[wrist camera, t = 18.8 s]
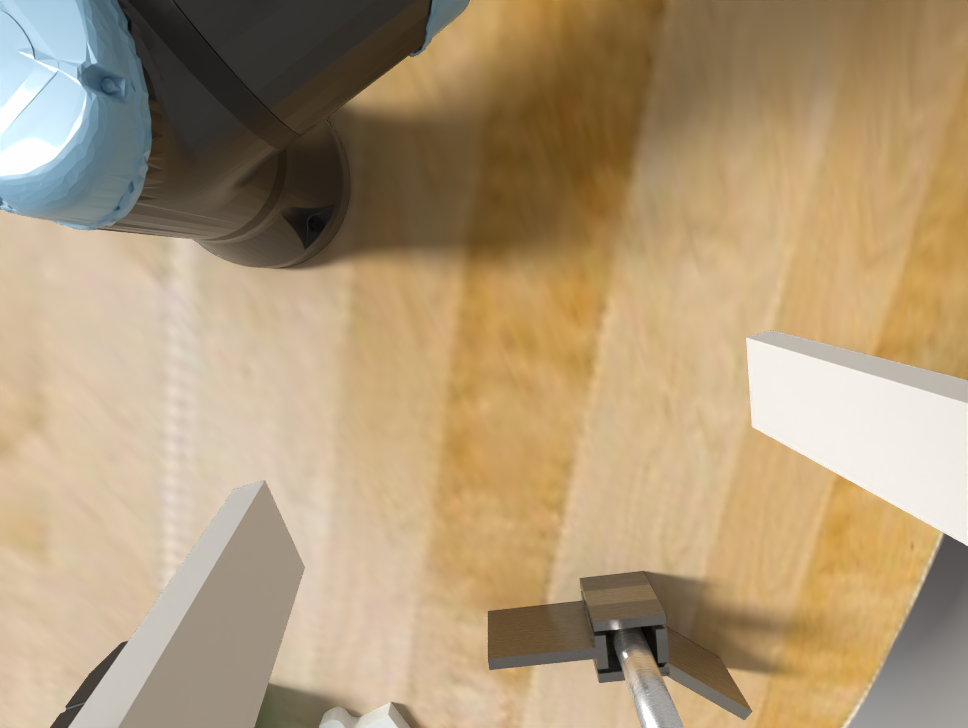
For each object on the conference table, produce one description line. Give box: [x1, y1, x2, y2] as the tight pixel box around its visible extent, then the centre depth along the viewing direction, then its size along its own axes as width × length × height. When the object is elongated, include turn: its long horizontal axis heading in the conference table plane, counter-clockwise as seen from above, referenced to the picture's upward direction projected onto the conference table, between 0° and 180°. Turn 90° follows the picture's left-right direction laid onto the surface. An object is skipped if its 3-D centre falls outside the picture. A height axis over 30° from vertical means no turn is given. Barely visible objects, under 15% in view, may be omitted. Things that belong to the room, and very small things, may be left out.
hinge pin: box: [609, 627, 684, 728], centre depth 39 cm, size 3×3×16 cm
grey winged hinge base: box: [488, 571, 752, 720], centre depth 45 cm, size 24×12×6 cm, turn 98°
